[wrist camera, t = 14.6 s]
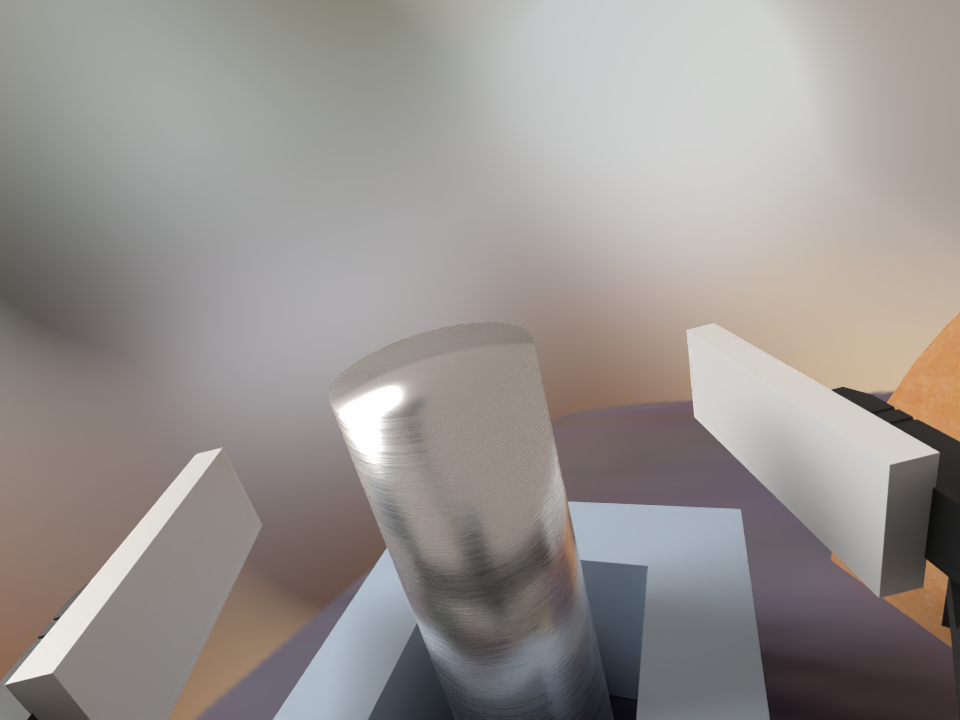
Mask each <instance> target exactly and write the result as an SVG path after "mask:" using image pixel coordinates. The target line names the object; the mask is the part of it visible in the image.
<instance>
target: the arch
mask: <svg viewBox="0 0 960 720" xmlns="http://www.w3.org/2000/svg"><path fill="white" fill-rule="evenodd" d="M887 403H888V404H890V405H892V406H894V408H895V410H897V409H899V410H901V411H903V412H905V413H907V414H909V415H911V416H913V419H914V420H916V419H918V420H920V421H922V422H924V423H926V424H928V425H930V426H931V427H933V428H935V429H937V430H939V431H941V432H943V433H945V434H947V435H948V436H950V437H952V438H954V439H956V440H958V441H960V313H959V314H958V315H957V316H956V317H955V318H954V319H953V320H952V321H951V322H950V323H949V324H948V325H947V326H946V327H945V328H944V329H943V330H942V332H941V333H940V334H939V335H938V336H937V337H936V339H935V340H934V341H933V342H932V343H931V344H930V346H929V347H928V348H927V349H926V350H925V351H924V352H923V354H922V355H921V356H920V357H919V358H918V359H917V361H916V362H915V363H914V365H913V366H912V367H911V369H910V370H909V372H908V373H907V374H906V376H905V377H904V379H903V380H902V382H901V383H900V385H899V386H898V387H897V389H896V390H895V392H894V393H893V395H892V396H891V397H890V399H889V400H888V402H887ZM831 560H832V561H833V562H834V563H836V564H837V565H838V566H840V567H841V568H843V569H844V570H845V571H847V572H848V573H849V574H851V575H852V576H854V577H855V578H856V579H858V580H859V581H860V582H862V581H861V580H860V579H859V578H858V577H857V576H856V575H855V574H854V573H853V572H852V571H851V570H850V569H849V568H848V567H847V566H846V565H845V564H844V563H843V562H842V561H841V560H840V559H839V558H838V557H837V556H836V555H835V554H834V553H833V552H832V556H831ZM862 583H863V582H862ZM863 584H864V583H863ZM947 584H948V576H947V575H945V574H944V573H943V572H942V571H940V570H939V569H938V568H937V567H935V566H934V565H933V564H932V563H930V562H929V561H928V560H927V561H926V569H925V577H924V585H923V588H919V589H914V590H910V591H906V592H902V593H898V594H894V595H890V596H886V597H882V598H884V599H885V600H887V601H888V602H889V603H891V604H892V605H893V606H895V607H896V608H898V609H899V610H900V611H902V612H903V613H904V614H906V615H907V616H908V617H910V618H911V619H913V620H914V621H915V622H917V623H918V624H919V625H921V626H922V627H924V628H925V629H926V630H928V631H929V632H930V633H932V634H933V635H935V636H936V637H937V638H939V639H940V640H941V641H943V642H944V643H946V644H947V645H948V646H950V647H951V648H952V642H951V632H950V628H948V627H944V626H941V625H942V618H943V611H944V604H945V597H946V591H947Z"/></svg>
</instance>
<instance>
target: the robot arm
mask: <svg viewBox="0 0 960 720" xmlns="http://www.w3.org/2000/svg"><path fill="white" fill-rule="evenodd" d="M687 340H688V351H689V362H690V373H691V385H692V396H693V407H694V417H695V418H696V419H697V420H698V421H699V422H700V423H701V424H702V425H703V426H704V427H705V428H706V429H707V430H708V431H709V432H710V433H711V434H712V435H713V436H714V437H715V438H716V439H717V440H718V441H719V442H721V443H722V444H723V445H724V446H725V447H726V448H727V449H728V450H729V451H730V452H731V453H732V454H733V455H734V456H735V457H736V458H737V459H738V460H739V461H740V462H741V463H742V464H743V465H744V466H745V467H746V468H747V469H748V470H749V471H750V472H751V473H752V474H753V475H754V476H755V477H756V478H757V479H758V480H759V481H760V482H761V483H762V484H763V485H764V486H765V487H766V488H767V489H768V490H769V491H770V492H771V493H772V494H774V495H775V496H776V497H777V498H778V499H779V500H780V501H781V502H782V503H783V504H784V505H785V506H786V507H787V508H788V509H789V510H790V511H791V512H792V513H793V514H794V515H795V516H796V517H797V518H798V519H799V520H800V521H801V522H802V523H803V524H804V525H805V526H806V527H807V528H808V529H809V530H810V531H811V532H812V533H813V534H814V535H815V536H816V537H817V538H818V539H819V540H820V541H821V542H822V543H823V544H824V545H826V546H827V547H828V548H829V549H830V550H831V551H832V552H833V553H834V554H835V555H836V556H837V557H838V558H839V559H840V560H841V561H842V562H843V563H844V564H845V565H846V566H847V567H848V568H849V569H850V570H851V571H852V572H853V573H854V574H855V575H856V576H857V577H858V578H859V579H860V580H861V581H862V582H863V583H864V584H865V585H866V586H867V587H868V588H869V589H870V590H871V591H872V592H873V593H874V594H875V595H876V596H877V597H879V598H882V597H886V596H890V595H894V594H898V593H902V592H906V591H910V590H914V589H919V588H923V585H924V577H925V569H926V561H927V560H928V561H929V562H930V563H932V564H933V565H934V566H935V567H937V568H938V569H939V570H940V571H942V572H943V573H944V574H945V575H947V576H948V584H947V591H946V597H945V604H944V611H943V618H942V625H941V626H944V627H948V628H950V632H951V642H952V651H953V660H954V669H955V679H956V688H957V697H958V706H959V715H960V441H958V440H956V439H954V438H952V437H950V436H948V435H947V434H945V433H943V432H941V431H939V430H937V429H935V428H933V427H931V426H930V425H928V424H926V423H924V422H922V421H920V420H918V419H916V420H914V419H913V416H911V415H909V414H907V413H905V412H903V411H901V410H899V409H897V410H895V408H894V406H892V405H890V404H888V403H886V402H884V401H882V400H881V399H879V398H877V397H875V396H873V395H871V394H867V393H863V392H860V391H856V390H852V389H849V388H845V387H841V388H837V389H833V390H830V389H828V388H827V387H825V386H823V385H821V384H820V383H818V382H816V381H814V380H813V379H811V378H809V377H807V376H806V375H804V374H802V373H800V372H798V371H797V370H795V369H793V368H792V367H790V366H788V365H786V364H784V363H783V362H781V361H779V360H778V359H776V358H774V357H772V356H771V355H769V354H767V353H765V352H763V351H762V350H760V349H758V348H757V347H755V346H753V345H751V344H750V343H748V342H746V341H744V340H743V339H741V338H739V337H737V336H736V335H734V334H732V333H731V332H729V331H727V330H725V329H723V328H722V327H720V326H718V325H717V324H715V323H712V324H708V325H705V326H700V327H697V328H692V329H689V330H687ZM261 527H262V524H261V522H260V520H259V518H258V516H257V514H256V512H255V510H254V508H253V506H252V504H251V502H250V500H249V498H248V496H247V494H246V492H245V490H244V488H243V486H242V485H241V482H240V481H239V478H238V476H237V474H236V472H235V470H234V469H233V466H232V464H231V463H230V461H229V459H228V457H227V455H226V453H225V451H224V449H223V448H219V449H215V450H211V451H207V452H203V453H199V454H196V455H195V456H194V457H193V459H192V460H191V461H190V462H189V463H188V465H187V466H186V467H185V468H184V470H183V471H182V472H181V473H180V474H179V476H178V477H177V478H176V479H175V481H174V482H173V483H172V484H171V485H170V486H169V488H168V489H167V490H166V491H165V492H164V494H163V495H162V496H161V497H160V498H159V500H158V501H157V502H156V503H155V504H154V506H153V507H152V508H151V510H149V512H148V513H147V514H146V515H145V517H144V518H143V519H142V520H141V521H140V522H139V524H138V525H137V526H136V527H135V529H134V530H133V531H132V532H131V534H130V535H129V536H128V537H127V538H126V539H125V541H124V542H123V543H122V544H121V545H120V547H119V548H118V549H117V550H116V551H115V553H114V554H113V555H112V556H111V557H110V559H109V560H108V561H107V562H106V563H105V565H104V566H103V567H102V568H101V569H100V571H99V572H98V573H97V574H96V575H95V577H94V578H93V579H92V580H91V581H90V582H89V583H88V584H86V585H85V586H84V587H83V588H82V589H80V590H79V591H78V592H77V593H76V594H75V595H74V596H72V597H71V598H70V600H69V601H68V602H67V603H66V604H65V605H64V607H63V608H62V609H61V610H60V611H59V613H58V614H57V615H56V616H55V617H54V622H52V623H49V624H48V626H47V627H46V628H45V629H44V630H43V632H42V633H41V634H40V635H39V636H38V638H39V639H38V641H34V642H33V644H32V645H31V646H30V647H29V648H28V649H27V651H26V652H25V653H24V654H23V655H22V656H21V658H20V659H19V660H18V661H17V662H16V664H15V665H14V666H13V667H12V668H11V669H10V671H9V672H8V673H7V674H6V675H5V677H4V678H3V679H2V680H1V681H0V720H168V719H169V717H170V714H171V712H172V710H173V708H174V706H175V704H176V702H177V700H178V698H179V696H180V694H181V692H182V690H183V688H184V686H185V684H186V681H187V679H188V677H189V675H190V673H191V671H192V669H193V667H194V665H195V663H196V661H197V659H198V656H199V654H200V653H201V651H202V648H203V646H204V644H205V642H206V640H207V638H208V636H209V634H210V632H211V630H212V628H213V626H214V624H215V622H216V620H217V618H218V615H219V613H220V611H221V609H222V607H223V605H224V603H225V601H226V599H227V597H228V595H229V593H230V591H231V589H232V587H233V584H234V582H235V580H236V578H237V576H238V574H239V572H240V570H241V568H242V566H243V564H244V562H245V560H246V558H247V555H248V553H249V551H250V549H251V547H252V545H253V543H254V541H255V539H256V537H257V535H258V533H259V531H260V529H261Z"/></svg>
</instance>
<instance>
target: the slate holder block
mask: <svg viewBox="0 0 960 720" xmlns="http://www.w3.org/2000/svg"><path fill="white" fill-rule="evenodd" d="M568 506H569V510H570V515H571V520H572V524H573V529H574V534H575V539H576V543H577V548H578V553H579V557H580V562H581V567H582V572H583V576H584V581H585V586H586V590H587V595H588V600H589V605H590V609H591V614H592V619H593V623H594V628H595V633H596V638H597V642H598V647H599V652H600V656H601V661H602V666H603V671H604V675H605V680H606V685H607V689H608V694H610V695H615V696H620V697H625V698H631V699H636V700H638V703H637V716H636V720H770V717H769V710H768V703H767V695H766V688H765V681H764V674H763V667H762V660H761V652H760V645H759V638H758V631H757V624H756V617H755V609H754V602H753V595H752V588H751V581H750V574H749V566H748V559H747V552H746V545H745V538H744V531H743V523H742V516H741V509H725V508H702V507H679V506H656V505H633V504H610V503H587V502H568ZM273 720H455V718H454V715H453V713H452V710H451V708H450V705H449V703H448V700H447V698H446V695H445V693H444V690H443V687H442V685H441V682H440V680H439V677H438V675H437V672H436V670H435V667H434V665H433V662H432V660H431V657H430V655H429V652H428V650H427V647H426V644H425V642H424V639H423V637H422V634H421V632H420V629H419V627H418V624H417V622H416V619H415V617H414V614H413V612H412V609H411V607H410V604H409V602H408V599H407V596H406V594H405V591H404V589H403V586H402V584H401V581H400V579H399V576H398V574H397V571H396V569H395V566H394V564H393V561H392V559H391V556H390V554H389V551H388V548H387V549H386V550H385V552H384V553H383V555H382V556H381V558H380V559H379V561H378V562H377V564H376V565H375V567H374V568H373V570H372V571H371V573H370V574H369V576H368V577H367V579H366V580H365V582H364V583H363V585H362V586H361V588H360V589H359V591H358V592H357V594H356V595H355V597H354V598H353V600H352V601H351V603H350V604H349V606H348V607H347V609H346V610H345V612H344V613H343V615H342V616H341V618H340V619H339V621H338V623H337V624H336V626H335V627H334V629H333V630H332V632H331V633H330V635H329V636H328V638H327V639H326V641H325V642H324V644H323V645H322V647H321V648H320V650H319V651H318V653H317V654H316V656H315V657H314V659H313V660H312V662H311V663H310V665H309V666H308V668H307V669H306V671H305V672H304V674H303V675H302V677H301V678H300V680H299V681H298V683H297V684H296V686H295V687H294V689H293V690H292V692H291V693H290V695H289V696H288V698H287V699H286V701H285V702H284V704H283V705H282V707H281V709H280V710H279V712H278V713H277V715H276V716H275V718H274V719H273Z"/></svg>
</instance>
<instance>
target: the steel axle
mask: <svg viewBox="0 0 960 720" xmlns="http://www.w3.org/2000/svg"><path fill="white" fill-rule="evenodd" d="M329 401H330V404H331V407H332V409H333V412H334V415H335V417H336V419H337V422H338V425H339V427H340V430H341V432H342V435H343V437H344V440H345V442H346V445H347V447H348V450H349V452H350V455H351V457H352V460H353V462H354V465H355V468H356V470H357V473H358V475H359V478H360V480H361V483H362V485H363V487H364V490H365V493H366V495H367V498H368V500H369V503H370V505H371V508H372V511H373V513H374V515H375V518H376V521H377V523H378V526H379V528H380V530H381V533H382V536H383V538H384V541H385V543H386V546H387V548H388V551H389V554H390V556H391V559H392V561H393V564H394V566H395V569H396V571H397V574H398V576H399V579H400V581H401V584H402V586H403V589H404V591H405V594H406V596H407V599H408V602H409V604H410V607H411V609H412V612H413V614H414V617H415V619H416V622H417V624H418V627H419V629H420V632H421V634H422V637H423V639H424V642H425V644H426V647H427V650H428V652H429V655H430V657H431V660H432V662H433V665H434V667H435V670H436V672H437V675H438V677H439V680H440V682H441V685H442V687H443V690H444V693H445V695H446V698H447V700H448V703H449V705H450V708H451V710H452V713H453V715H454V718H455V720H614V718H613V713H612V708H611V703H610V699H609V694H608V689H607V685H606V680H605V675H604V671H603V666H602V661H601V656H600V652H599V647H598V642H597V638H596V633H595V628H594V623H593V619H592V614H591V609H590V605H589V600H588V595H587V590H586V586H585V581H584V576H583V572H582V567H581V562H580V557H579V553H578V548H577V543H576V539H575V534H574V529H573V524H572V520H571V515H570V510H569V506H568V501H567V496H566V491H565V487H564V482H563V477H562V473H561V468H560V463H559V459H558V454H557V449H556V444H555V440H554V435H553V430H552V426H551V421H550V416H549V412H548V407H547V402H546V397H545V393H544V388H543V383H542V379H541V374H540V369H539V364H538V360H537V355H536V351H535V345H534V341H533V338H532V336H531V334H530V333H529V332H527V331H526V330H524V329H523V328H521V327H517V326H515V325H510V324H504V323H471V324H462V325H456V326H450V327H445V328H440V329H436V330H432V331H428V332H425V333H421V334H418V335H415V336H411V337H409V338H406V339H403V340H400V341H398V342H395V343H393V344H390V345H388V346H386V347H384V348H381V349H379V350H377V351H375V352H373V353H371V354H370V355H368V356H366V357H364V358H362V359H361V360H359V361H358V362H356V363H355V364H353V365H352V366H351V367H349V368H348V369H347V370H345V371H344V372H343V373H342V374H341V375H340V376H339V377H338V378H337V379H336V381H335V382H334V383H333V385H332V386H331V389H330V391H329Z"/></svg>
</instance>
